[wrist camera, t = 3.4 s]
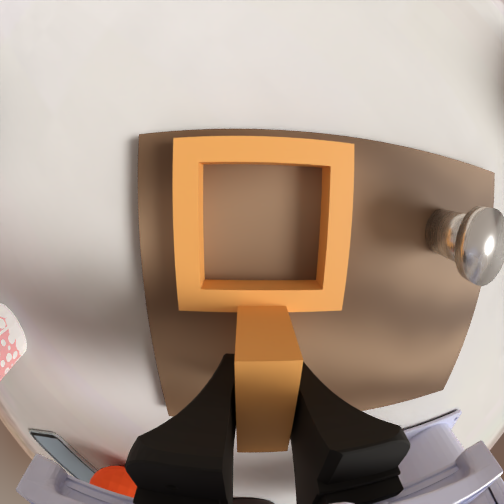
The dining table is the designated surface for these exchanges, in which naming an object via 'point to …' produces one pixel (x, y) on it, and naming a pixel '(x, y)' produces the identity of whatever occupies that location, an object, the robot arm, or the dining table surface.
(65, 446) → the smartphone
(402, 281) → the plate
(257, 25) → the dining table surface
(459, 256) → the chrome cabinet knob
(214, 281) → the orange square hoop tool
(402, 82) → the dining table surface
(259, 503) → the bottle
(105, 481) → the clementine
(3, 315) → the beverage cup
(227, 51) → the dining table surface
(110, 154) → the dining table surface
